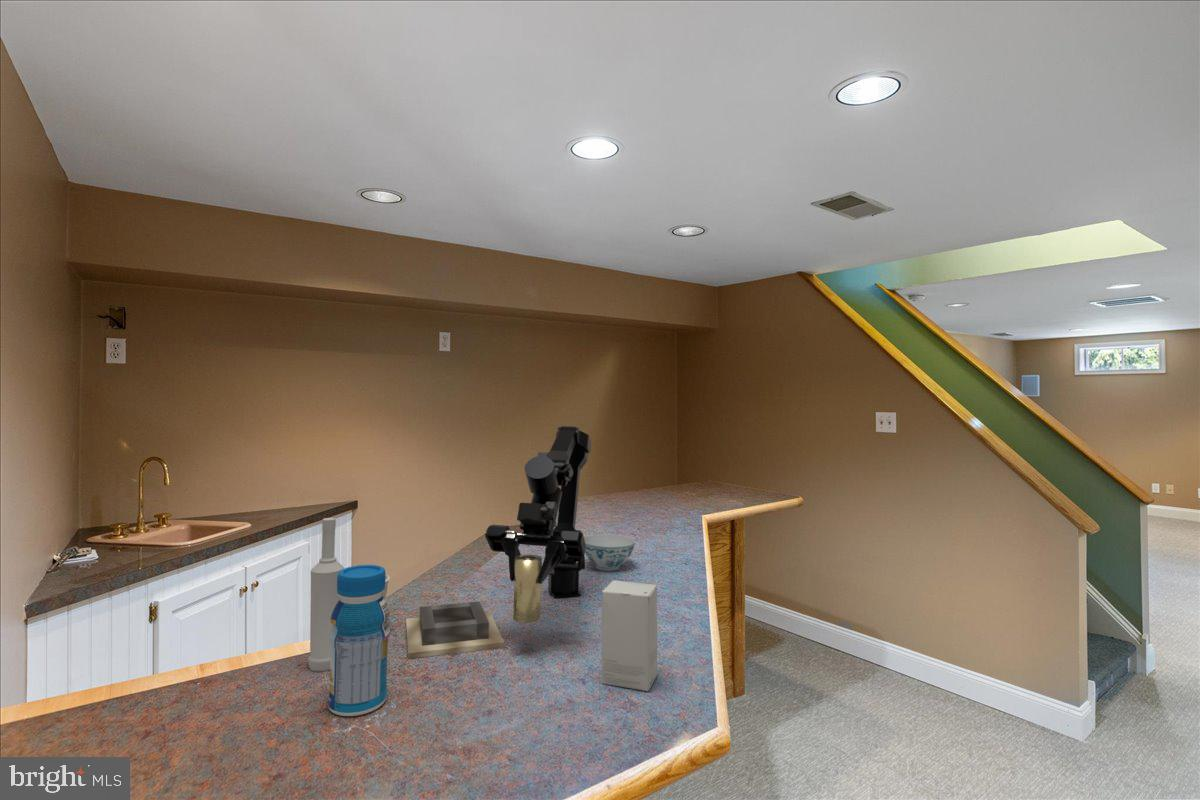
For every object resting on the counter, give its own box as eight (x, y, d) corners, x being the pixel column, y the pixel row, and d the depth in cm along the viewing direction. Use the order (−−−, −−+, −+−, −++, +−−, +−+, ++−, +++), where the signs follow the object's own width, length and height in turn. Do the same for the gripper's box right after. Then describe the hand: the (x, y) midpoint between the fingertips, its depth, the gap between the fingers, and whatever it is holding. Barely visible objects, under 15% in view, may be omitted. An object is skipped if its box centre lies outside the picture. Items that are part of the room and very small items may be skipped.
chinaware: (635, 576, 155) (636, 547, 155) (579, 574, 155) (580, 545, 155) (633, 561, 170) (633, 534, 170) (582, 559, 170) (582, 533, 170)
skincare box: (658, 676, 98) (660, 584, 98) (648, 694, 92) (650, 596, 92) (611, 667, 101) (613, 578, 101) (598, 684, 94) (601, 589, 95)
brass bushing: (536, 611, 109) (538, 553, 109) (543, 621, 104) (545, 560, 105) (510, 614, 107) (512, 554, 108) (516, 624, 103) (517, 561, 103)
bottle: (315, 658, 101) (319, 515, 101) (345, 658, 101) (349, 516, 102) (302, 672, 96) (307, 522, 96) (334, 672, 96) (339, 522, 96)
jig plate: (489, 615, 124) (489, 596, 124) (503, 647, 108) (504, 626, 108) (405, 623, 118) (406, 603, 118) (408, 658, 102) (408, 636, 102)
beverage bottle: (350, 725, 81) (354, 582, 81) (314, 707, 85) (318, 571, 85) (399, 699, 88) (403, 568, 88) (364, 684, 92) (368, 559, 93)
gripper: (489, 482, 112) (465, 554, 101) (584, 487, 108) (569, 562, 97) (502, 515, 119) (481, 585, 108) (591, 521, 116) (578, 594, 105)
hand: (525, 581), depth 105 cm, fingers closed on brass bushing, 5 cm apart
